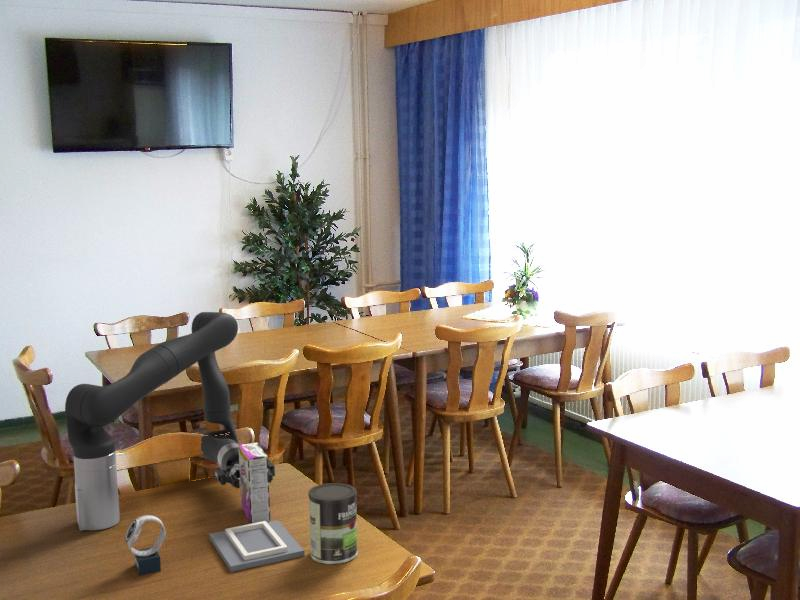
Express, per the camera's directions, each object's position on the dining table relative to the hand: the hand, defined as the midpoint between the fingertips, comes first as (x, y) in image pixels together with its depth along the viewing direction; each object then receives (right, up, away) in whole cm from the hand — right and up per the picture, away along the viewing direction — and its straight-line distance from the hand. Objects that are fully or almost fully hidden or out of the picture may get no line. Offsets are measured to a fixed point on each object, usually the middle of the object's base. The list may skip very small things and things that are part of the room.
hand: (254, 481), depth 200 cm
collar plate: (+3, -11, -16) cm, 20 cm away
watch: (-18, -13, -25) cm, 33 cm away
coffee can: (+21, -12, -20) cm, 31 cm away
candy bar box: (0, -9, +1) cm, 9 cm away
